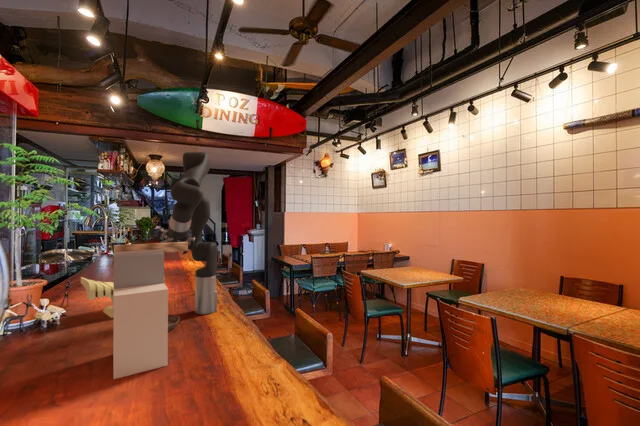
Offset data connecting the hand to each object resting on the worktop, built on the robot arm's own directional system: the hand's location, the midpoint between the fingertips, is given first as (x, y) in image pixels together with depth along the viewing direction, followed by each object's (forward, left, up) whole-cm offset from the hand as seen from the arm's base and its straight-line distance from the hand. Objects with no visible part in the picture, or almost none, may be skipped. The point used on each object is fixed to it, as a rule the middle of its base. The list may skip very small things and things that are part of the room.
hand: (173, 250), depth 128 cm
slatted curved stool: (+17, -29, -32) cm, 46 cm away
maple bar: (+10, +23, +2) cm, 25 cm away
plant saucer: (+7, +1, -32) cm, 33 cm away
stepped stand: (+14, +27, -32) cm, 44 cm away
